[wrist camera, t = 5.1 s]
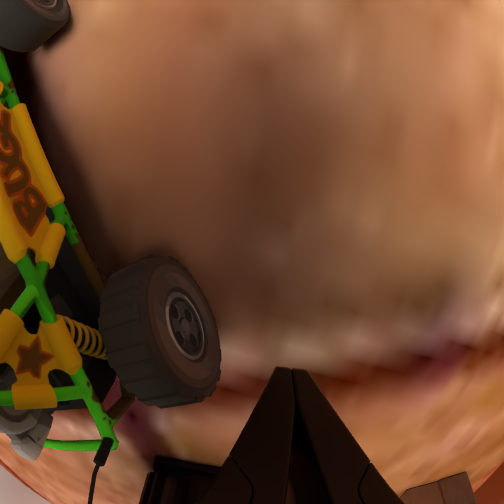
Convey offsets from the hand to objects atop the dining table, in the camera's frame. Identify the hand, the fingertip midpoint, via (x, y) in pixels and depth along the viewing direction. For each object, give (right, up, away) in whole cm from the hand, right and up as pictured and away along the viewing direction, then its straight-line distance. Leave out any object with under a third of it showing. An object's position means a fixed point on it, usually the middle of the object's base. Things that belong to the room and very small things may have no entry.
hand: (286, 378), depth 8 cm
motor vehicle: (-10, +6, +3) cm, 12 cm away
